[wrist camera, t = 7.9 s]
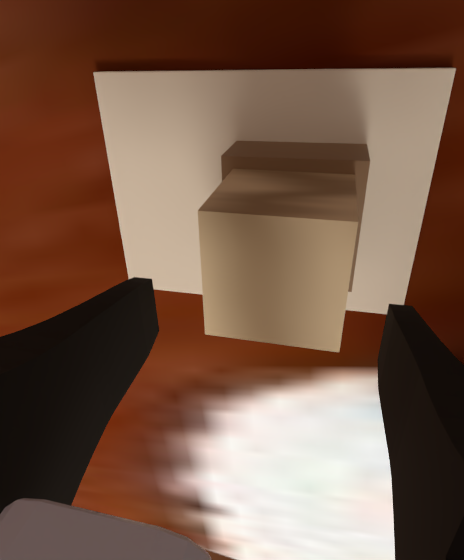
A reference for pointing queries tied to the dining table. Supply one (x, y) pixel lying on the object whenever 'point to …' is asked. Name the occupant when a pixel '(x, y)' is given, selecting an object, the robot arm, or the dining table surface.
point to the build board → (269, 106)
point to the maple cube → (278, 256)
